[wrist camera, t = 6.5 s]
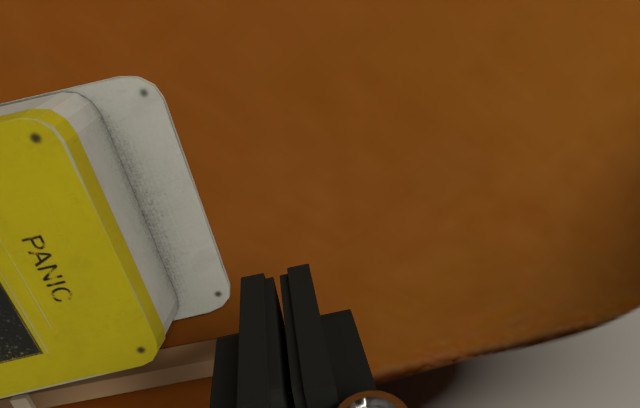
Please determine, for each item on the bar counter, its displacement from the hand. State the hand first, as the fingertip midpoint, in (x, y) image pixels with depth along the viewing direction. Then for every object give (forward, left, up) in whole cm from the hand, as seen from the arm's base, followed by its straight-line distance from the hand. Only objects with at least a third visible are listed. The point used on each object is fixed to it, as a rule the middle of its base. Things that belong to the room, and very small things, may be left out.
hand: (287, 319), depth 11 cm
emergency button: (+10, -1, -7) cm, 12 cm away
